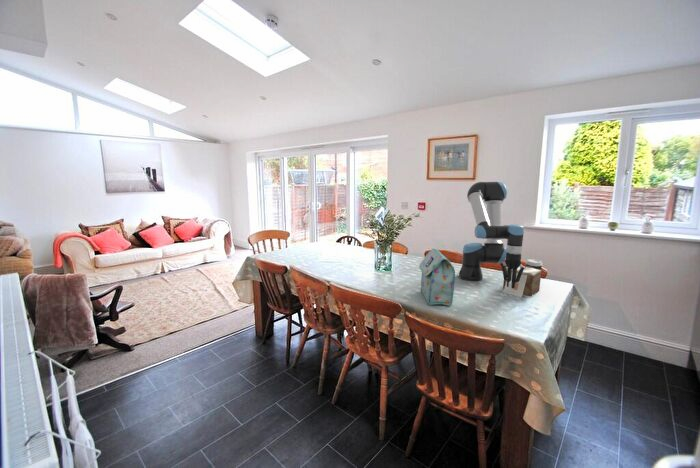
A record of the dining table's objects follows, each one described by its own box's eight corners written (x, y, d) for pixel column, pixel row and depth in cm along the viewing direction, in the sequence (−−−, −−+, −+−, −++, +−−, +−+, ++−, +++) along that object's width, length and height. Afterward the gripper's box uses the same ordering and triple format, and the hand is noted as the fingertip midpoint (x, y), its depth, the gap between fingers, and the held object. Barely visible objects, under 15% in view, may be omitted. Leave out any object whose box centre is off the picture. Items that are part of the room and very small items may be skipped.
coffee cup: (543, 286, 196) (545, 263, 194) (526, 285, 198) (528, 262, 196) (537, 281, 206) (539, 259, 203) (521, 280, 208) (523, 258, 205)
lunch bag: (417, 291, 190) (418, 247, 185) (444, 291, 190) (447, 247, 185) (424, 306, 167) (426, 257, 163) (456, 307, 167) (459, 257, 162)
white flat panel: (503, 292, 188) (503, 292, 187) (509, 271, 189) (508, 271, 188) (521, 297, 180) (521, 297, 179) (527, 275, 181) (526, 275, 180)
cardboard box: (502, 288, 193) (504, 268, 191) (511, 284, 201) (513, 264, 199) (531, 296, 181) (533, 274, 179) (539, 291, 189) (541, 270, 187)
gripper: (499, 251, 179) (495, 291, 183) (523, 255, 169) (519, 297, 173) (504, 249, 184) (501, 288, 188) (529, 253, 174) (525, 294, 178)
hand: (510, 292), depth 181 cm, fingers closed
